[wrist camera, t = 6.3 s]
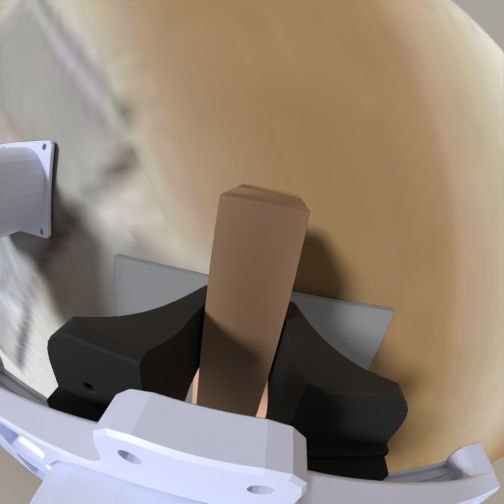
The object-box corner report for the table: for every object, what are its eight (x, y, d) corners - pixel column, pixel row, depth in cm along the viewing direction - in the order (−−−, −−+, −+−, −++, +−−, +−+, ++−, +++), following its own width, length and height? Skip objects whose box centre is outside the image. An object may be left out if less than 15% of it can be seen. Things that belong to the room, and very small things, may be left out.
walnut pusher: (216, 360, 15) (195, 424, 11) (243, 183, 12) (220, 194, 8) (258, 369, 15) (249, 436, 11) (298, 194, 12) (310, 211, 7)
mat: (130, 400, 23) (128, 403, 23) (117, 253, 19) (114, 256, 18) (323, 439, 23) (323, 443, 22) (392, 308, 18) (394, 311, 17)
